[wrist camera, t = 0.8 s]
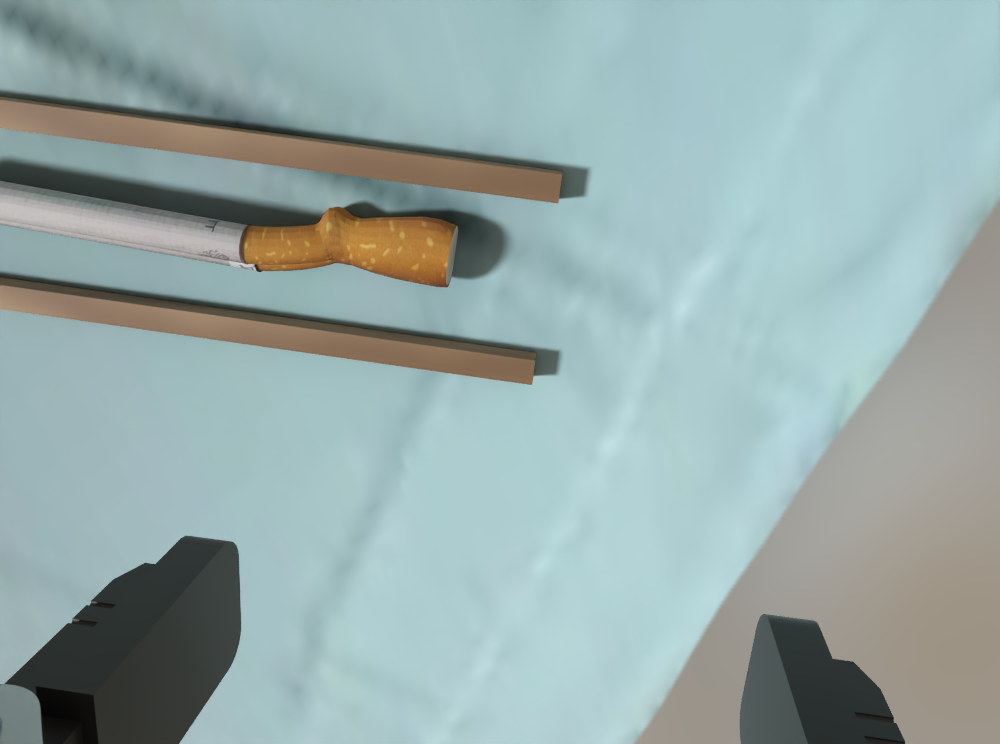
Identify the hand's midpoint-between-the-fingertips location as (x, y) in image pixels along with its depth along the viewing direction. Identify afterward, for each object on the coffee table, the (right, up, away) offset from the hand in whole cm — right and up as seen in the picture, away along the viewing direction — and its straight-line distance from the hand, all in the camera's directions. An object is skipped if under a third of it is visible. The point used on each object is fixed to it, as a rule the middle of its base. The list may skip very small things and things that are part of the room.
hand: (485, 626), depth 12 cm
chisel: (-11, +10, +19) cm, 24 cm away
